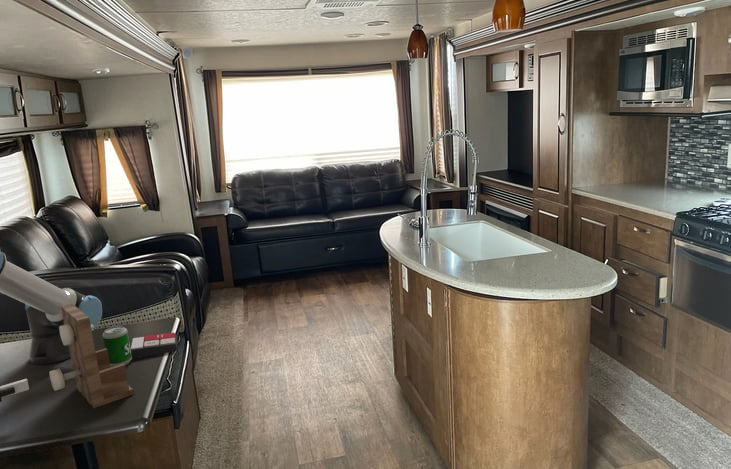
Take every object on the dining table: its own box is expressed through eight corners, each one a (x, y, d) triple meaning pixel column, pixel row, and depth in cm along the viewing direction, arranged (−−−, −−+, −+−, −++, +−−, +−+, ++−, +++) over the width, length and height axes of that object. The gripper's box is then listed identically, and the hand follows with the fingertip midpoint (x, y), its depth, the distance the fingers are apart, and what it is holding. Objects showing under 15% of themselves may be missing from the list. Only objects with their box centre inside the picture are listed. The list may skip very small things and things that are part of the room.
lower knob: (51, 387, 162) (48, 368, 161) (82, 377, 167) (79, 359, 166) (56, 393, 158) (52, 374, 157) (88, 383, 163) (84, 364, 162)
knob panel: (76, 387, 172) (60, 306, 167) (114, 375, 179) (100, 296, 174) (93, 408, 159) (77, 320, 153) (133, 394, 166) (119, 309, 160)
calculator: (176, 342, 194) (128, 348, 190) (177, 353, 195) (130, 360, 191) (176, 331, 205) (131, 336, 200) (177, 342, 205) (132, 348, 201)
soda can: (123, 369, 184) (117, 334, 181) (102, 368, 185) (96, 333, 183) (137, 358, 191) (131, 325, 188) (117, 358, 192) (111, 325, 190)
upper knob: (61, 342, 162) (58, 324, 161) (92, 334, 168) (88, 316, 166) (66, 347, 158) (63, 328, 157) (97, 338, 163) (94, 320, 162)
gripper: (-79, 421, 146) (25, 389, 161) (-76, 440, 136) (35, 404, 151) (-85, 394, 145) (20, 364, 160) (-83, 412, 135) (30, 378, 150)
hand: (27, 384), depth 155 cm, fingers closed
